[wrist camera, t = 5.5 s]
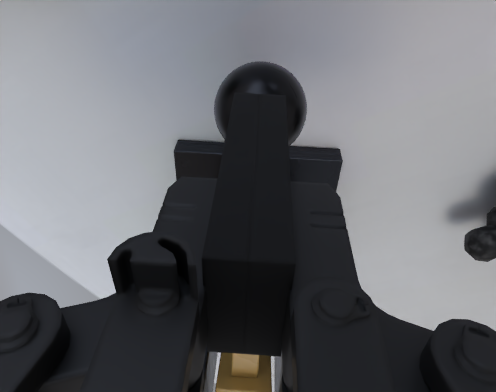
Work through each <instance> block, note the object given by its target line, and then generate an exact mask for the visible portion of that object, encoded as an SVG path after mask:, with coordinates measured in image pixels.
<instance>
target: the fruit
mask: <svg viewBox="0 0 496 392" xmlns="http://www.w3.org/2000/svg"><path fill="white" fill-rule="evenodd" d="M464 247H465V251H466V252H467V253H468V254H469V255H471V256H472V257H473V258H474V259H475V260H478V261H485V262H488V261H490V260H492V259H495V258H496V207H494V208H493V209H492V210H491V211H490V212H489V213H487V226H484V227H480V228H477V229H474V230H472V231H469V232H468V233H467V234H466V235H465V243H464Z"/></svg>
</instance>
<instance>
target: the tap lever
mask: <svg viewBox="0 0 496 392" xmlns="http://www.w3.org/2000/svg"><path fill="white" fill-rule="evenodd" d="M234 93H253V94H271V95H286V110H287V126H288V143H289V146H290V145H291V144H292V143H293V142H294V141H295V140H296V138H297V137H298V136H299V134H300V132H301V131H302V128H303V126H304V123H305V120H306V114H307V104H306V98H305V94H304V91H303V89H302V87H301V85H300V83H299V82H298V80H297V79H296V78H295V77H294V75H293V74H292V73H290V72H289V71H288V70H287V69H285V68H283V67H282V66H279V65H277V64H274V63H270V62H251V63H248V64H244V65H242V66H240V67H238V68H237V69H235V70H234V71H232V72H231V73H230V74H229V75H228V76H227V77H226V78H225V79H224V81H223V82H222V84H221V85H220V87H219V89H218V92H217V94H216V98H215V104H214V115H215V120H216V124H217V127H218V129H219V131H220V133H221V135H222V136H223V138H224V139H225V138H226V133H227V128H228V122H229V117H230V112H231V107H232V102H233V97H234ZM215 391H216V392H272V383H271V356H266V355H251V354H236V353H221V357H220V364H219V370H218V376H217V383H216V390H215Z"/></svg>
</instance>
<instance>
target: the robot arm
mask: <svg viewBox="0 0 496 392" xmlns="http://www.w3.org/2000/svg"><path fill="white" fill-rule="evenodd" d="M107 260H108V264H109V267H110V271H111V275H112V278H113V282H114V286H115V289H116V293H115V294H113V295H111V296H109V297H107V298H103V299H100V300H97V301H93V302H88V303H83V304H79V305H74V306H69V307H65V308H59V306H58V304H57V302H56V301H55V300H54V299H52V298H50V297H48V296H47V295H45V294H36V293H25V294H21V295H15V296H11V297H9V298H7V299H4V300H2V301H0V392H203V385H204V373H203V364H204V358H205V351H206V346H207V352H221V353H236V354H251V355H266V356H280V357H281V353H282V377H281V382H280V388H279V392H496V331H494V330H493V329H491V328H489V327H488V326H486V325H483V324H480V323H477V322H474V321H471V320H466V319H451V320H448V321H446V322H443V323H441V324H439V325H438V326H437V328H436V329H435V330H434V331H432V330H429V329H426V328H423V327H420V326H417V325H414V324H411V323H409V322H406V321H403V320H400V319H398V318H395V317H393V316H391V315H389V314H387V313H385V312H384V311H382V310H381V309H379V308H378V307H376V306H375V305H374V304H373V302H372V300H371V298H370V297H369V296H368V295H367V294H366V293H365V292H364V291H363V290H362V289H361V286H360V284H359V281H358V277H357V272H356V268H355V263H354V259H353V254H352V250H351V245H350V241H349V236H348V231H347V229H346V222H345V218H344V216H343V209H342V204H341V200H340V197H339V196H338V194H337V193H336V192H335V191H334V190H333V188H332V187H331V186H330V185H329V184H328V183H313V182H296V181H291V176H290V160H289V143H288V126H287V110H286V95H271V94H253V93H234V97H233V102H232V107H231V112H230V117H229V122H228V128H227V133H226V138H225V143H224V148H223V153H222V158H221V163H220V168H219V173H218V178H203V177H186V176H181V177H180V178H179V179H178V180H177V181H176V182H175V183H174V184H172V185H171V186H170V187H169V188H168V190H167V193H166V196H165V199H164V202H163V207H161V210H160V213H159V215H158V219H157V221H156V224H155V227H154V229H153V232H149V233H143V234H140V235H137V236H134V237H131V238H129V239H128V240H126V241H125V242H123V243H122V244H120V245H119V246H117V247H116V248H115V250H114V251H113V252H112V254H111V255H110V256H109V258H108V259H107Z"/></svg>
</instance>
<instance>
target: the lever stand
mask: <svg viewBox="0 0 496 392" xmlns="http://www.w3.org/2000/svg"><path fill="white" fill-rule="evenodd" d="M223 148H224V143H222V142H204V141H187V140H178V142H177V144H176V147H175V150H174V158H175V168H176V179H177V180H178V179H179V178H180V177H181V176H186V177H203V178H218V173H219V168H220V163H221V158H222V153H223ZM289 160H290V176H291V181H296V182H313V183H328V184H329V185H330V186H331V187H332V188H333V190H334V191H335V192H336V189H337V185H338V180H339V175H340V171H341V166H342V162H343V160H342V156H341V153H340V149H327V148H309V147H292V146H289ZM217 353H218V352H207V346H206V351H205V358H204V364H203V373H204V385H203V392H213V385H214V377H215V369H216V361H217ZM281 377H282V353H281V357H280V356H275V392H279V388H280V382H281Z"/></svg>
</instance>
